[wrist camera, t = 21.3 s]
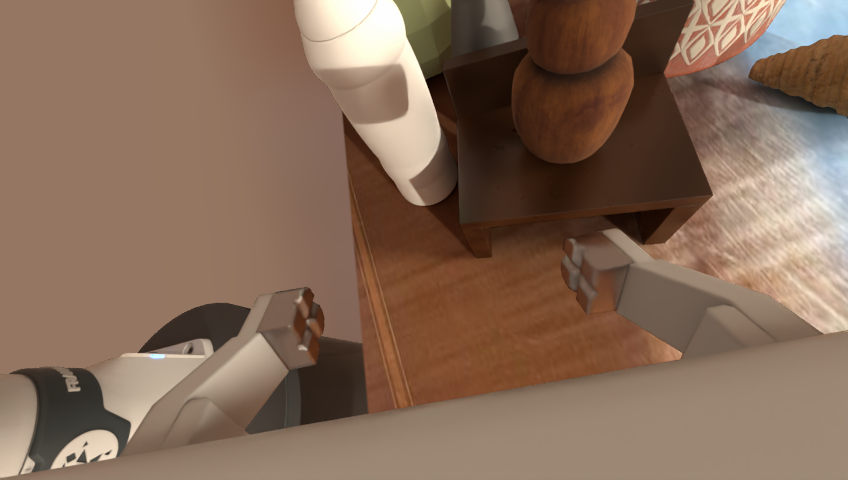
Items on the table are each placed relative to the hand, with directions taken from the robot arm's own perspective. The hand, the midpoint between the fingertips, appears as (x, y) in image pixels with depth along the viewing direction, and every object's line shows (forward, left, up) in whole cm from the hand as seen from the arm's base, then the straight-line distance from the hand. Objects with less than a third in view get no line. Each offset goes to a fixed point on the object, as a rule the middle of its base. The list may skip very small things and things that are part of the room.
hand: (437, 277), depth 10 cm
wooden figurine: (+6, +14, -12) cm, 19 cm away
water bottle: (-7, +18, -20) cm, 28 cm away
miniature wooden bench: (+6, +14, -20) cm, 25 cm away
